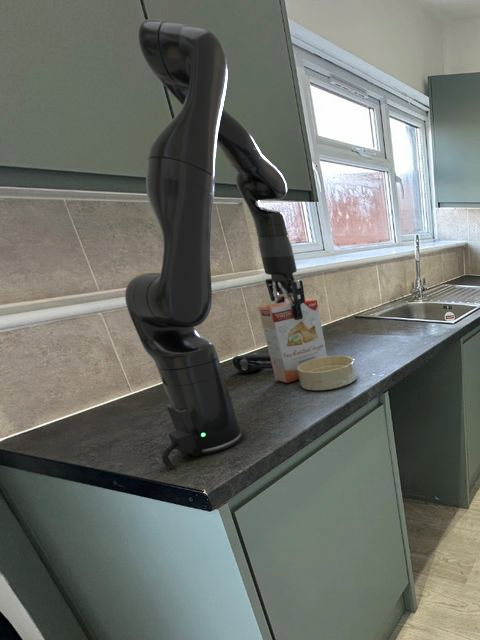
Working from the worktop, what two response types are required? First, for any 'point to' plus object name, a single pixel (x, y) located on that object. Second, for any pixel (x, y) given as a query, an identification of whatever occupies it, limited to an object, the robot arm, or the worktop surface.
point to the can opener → (251, 362)
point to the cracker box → (292, 337)
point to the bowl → (326, 372)
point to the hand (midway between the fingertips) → (291, 318)
